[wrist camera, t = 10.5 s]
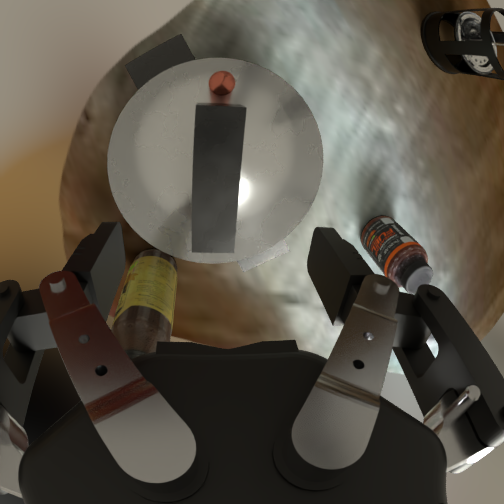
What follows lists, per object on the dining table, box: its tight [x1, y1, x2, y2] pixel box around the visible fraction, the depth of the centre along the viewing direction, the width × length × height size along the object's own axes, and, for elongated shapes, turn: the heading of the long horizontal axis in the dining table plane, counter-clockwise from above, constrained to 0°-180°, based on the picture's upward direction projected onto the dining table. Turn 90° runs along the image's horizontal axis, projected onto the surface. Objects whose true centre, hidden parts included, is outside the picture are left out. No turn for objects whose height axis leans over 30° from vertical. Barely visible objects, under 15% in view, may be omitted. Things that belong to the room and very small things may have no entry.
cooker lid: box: [107, 58, 323, 263], centre depth 21 cm, size 17×17×5 cm
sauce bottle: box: [111, 249, 177, 360], centre depth 29 cm, size 6×6×20 cm
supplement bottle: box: [361, 216, 433, 294], centre depth 34 cm, size 6×6×11 cm
